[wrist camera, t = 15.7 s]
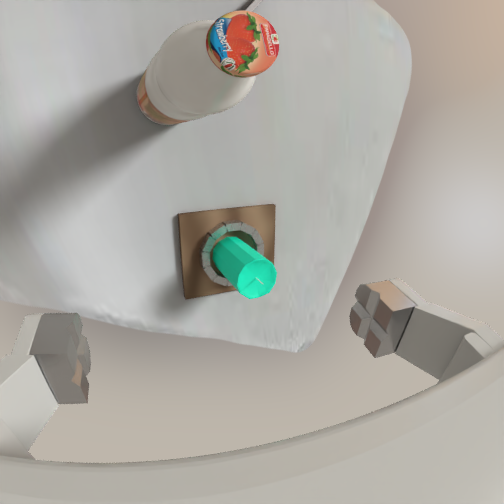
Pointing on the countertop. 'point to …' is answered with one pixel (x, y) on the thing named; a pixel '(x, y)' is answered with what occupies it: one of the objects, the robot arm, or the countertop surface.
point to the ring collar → (217, 233)
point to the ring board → (198, 226)
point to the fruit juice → (206, 67)
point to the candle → (244, 267)
